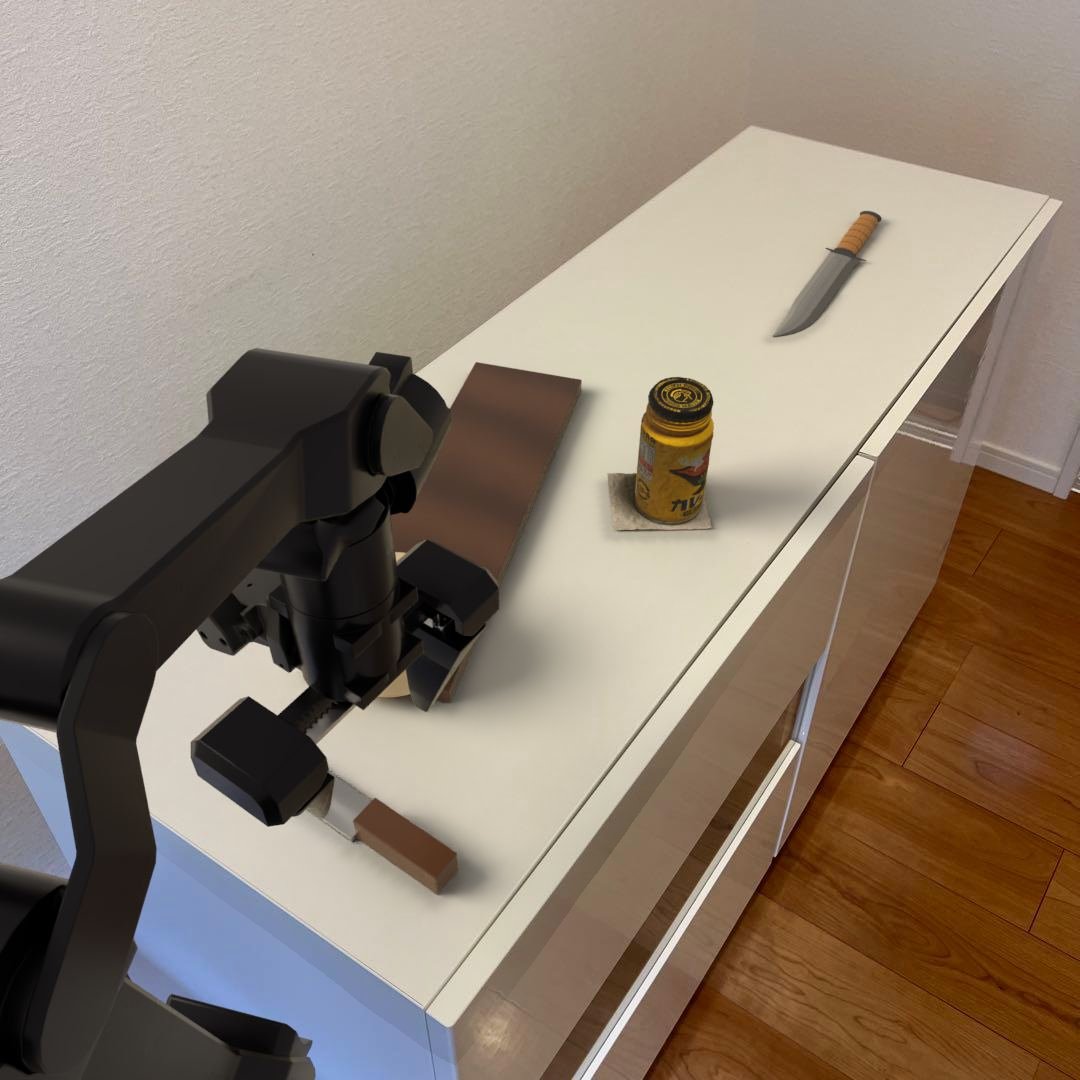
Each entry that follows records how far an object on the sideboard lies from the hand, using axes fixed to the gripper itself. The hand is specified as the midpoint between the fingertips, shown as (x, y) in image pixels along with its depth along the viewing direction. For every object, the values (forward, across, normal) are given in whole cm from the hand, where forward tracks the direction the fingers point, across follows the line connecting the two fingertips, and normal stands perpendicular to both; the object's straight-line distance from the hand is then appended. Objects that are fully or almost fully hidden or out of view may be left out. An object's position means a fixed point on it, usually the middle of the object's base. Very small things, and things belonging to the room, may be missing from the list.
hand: (372, 757), depth 64 cm
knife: (+10, -84, -7) cm, 85 cm away
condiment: (+10, -39, -3) cm, 41 cm away
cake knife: (+10, 0, -2) cm, 10 cm away
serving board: (+10, -28, -16) cm, 34 cm away
